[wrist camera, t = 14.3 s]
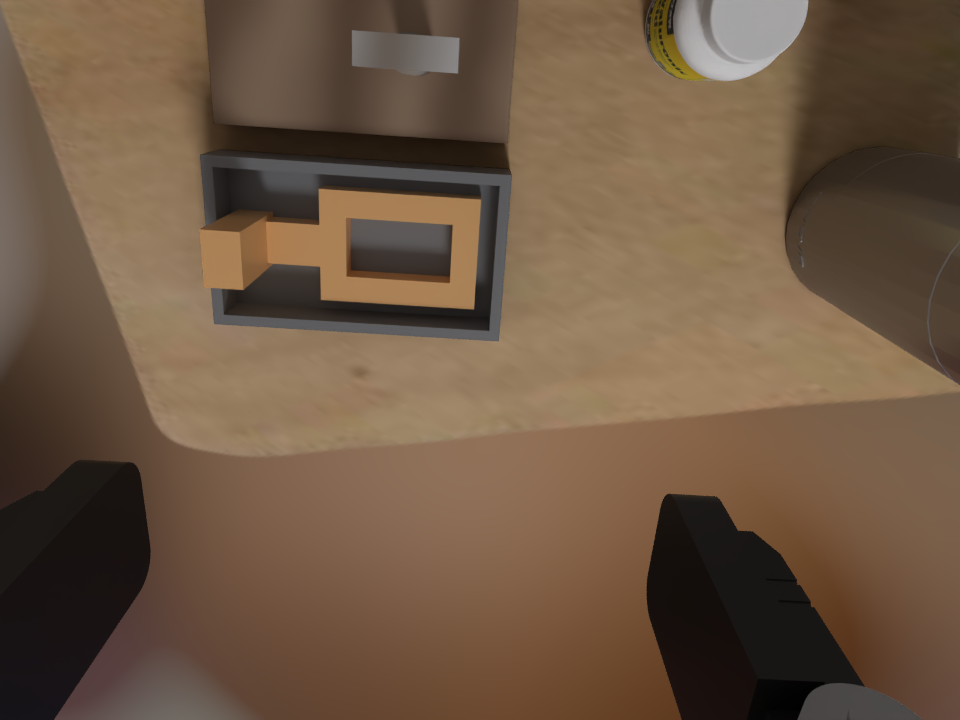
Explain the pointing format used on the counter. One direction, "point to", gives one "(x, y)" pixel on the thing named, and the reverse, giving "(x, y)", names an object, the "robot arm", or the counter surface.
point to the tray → (359, 243)
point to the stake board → (364, 66)
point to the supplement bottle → (720, 35)
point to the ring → (347, 246)
